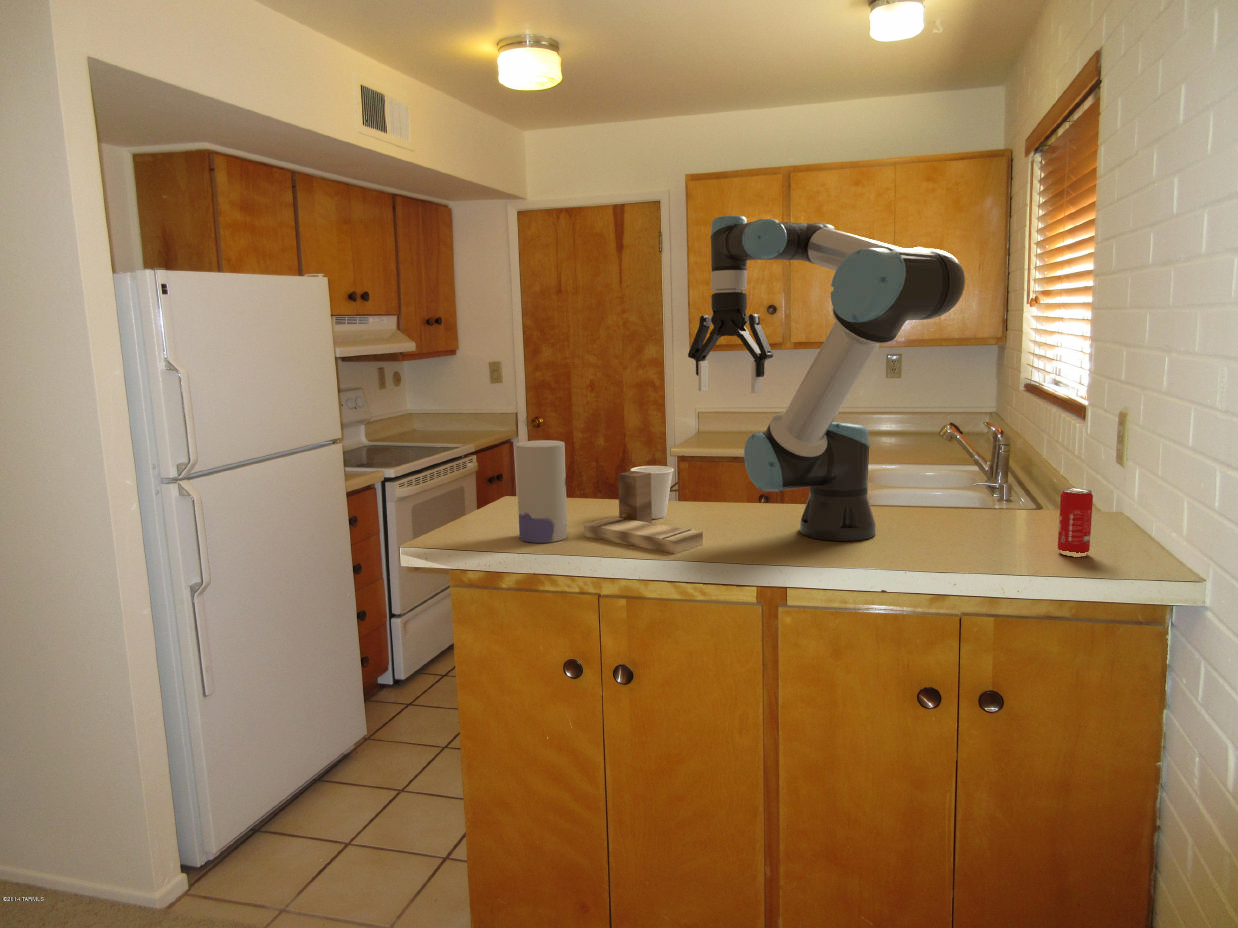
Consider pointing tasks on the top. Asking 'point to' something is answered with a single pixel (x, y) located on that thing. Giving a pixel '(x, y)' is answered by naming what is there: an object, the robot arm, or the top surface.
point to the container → (541, 491)
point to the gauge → (635, 496)
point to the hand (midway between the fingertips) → (729, 392)
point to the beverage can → (1075, 520)
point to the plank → (644, 534)
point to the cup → (658, 488)
